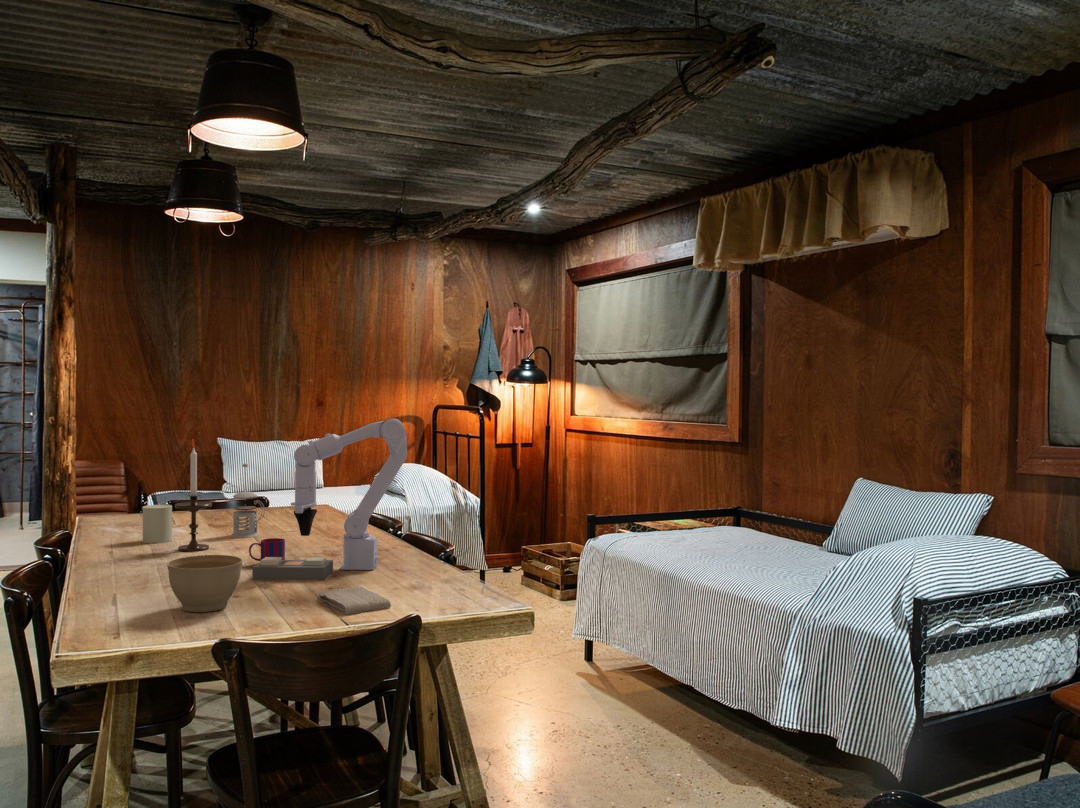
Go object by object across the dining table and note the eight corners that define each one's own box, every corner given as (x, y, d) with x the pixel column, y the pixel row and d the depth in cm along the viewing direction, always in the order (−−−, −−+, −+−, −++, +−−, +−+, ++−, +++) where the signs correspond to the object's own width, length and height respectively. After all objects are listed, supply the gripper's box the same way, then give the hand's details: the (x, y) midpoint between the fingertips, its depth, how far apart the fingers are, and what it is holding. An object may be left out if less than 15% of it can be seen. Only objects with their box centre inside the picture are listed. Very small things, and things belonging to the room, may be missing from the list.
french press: (238, 532, 307) (238, 462, 307) (269, 533, 306) (269, 462, 305) (224, 537, 298) (224, 464, 297) (256, 538, 296) (257, 464, 296)
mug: (285, 564, 251) (285, 541, 251) (249, 567, 248) (249, 543, 248) (283, 560, 258) (283, 537, 257) (248, 562, 254) (248, 539, 254)
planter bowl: (167, 620, 190) (167, 570, 190) (167, 603, 205) (167, 557, 205) (245, 613, 196) (245, 564, 196) (239, 597, 211) (239, 552, 211)
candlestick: (195, 553, 268) (195, 439, 267) (167, 551, 271) (167, 438, 271) (219, 547, 278) (219, 438, 278) (191, 545, 281) (191, 437, 281)
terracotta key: (303, 569, 238) (303, 561, 238) (299, 572, 233) (299, 564, 233) (287, 569, 238) (287, 561, 238) (283, 572, 233) (283, 564, 233)
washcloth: (359, 595, 216) (359, 582, 216) (393, 610, 202) (393, 596, 202) (313, 602, 209) (313, 589, 209) (345, 617, 195) (345, 603, 195)
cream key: (281, 565, 238) (281, 557, 238) (277, 568, 233) (277, 560, 233) (265, 565, 238) (265, 557, 238) (260, 568, 233) (260, 560, 233)
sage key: (325, 565, 238) (325, 557, 238) (321, 568, 233) (321, 560, 233) (309, 565, 238) (309, 557, 238) (305, 568, 233) (305, 560, 233)
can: (178, 540, 291) (178, 504, 291) (153, 544, 283) (153, 507, 283) (161, 537, 296) (161, 502, 296) (136, 541, 288) (136, 505, 288)
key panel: (333, 572, 241) (333, 560, 241) (324, 580, 231) (324, 567, 231) (264, 572, 241) (264, 559, 241) (252, 579, 231) (252, 567, 231)
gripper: (298, 484, 253) (298, 531, 253) (283, 490, 238) (283, 539, 238) (322, 484, 253) (322, 531, 253) (309, 490, 238) (309, 539, 238)
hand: (305, 535), depth 246 cm, fingers closed
